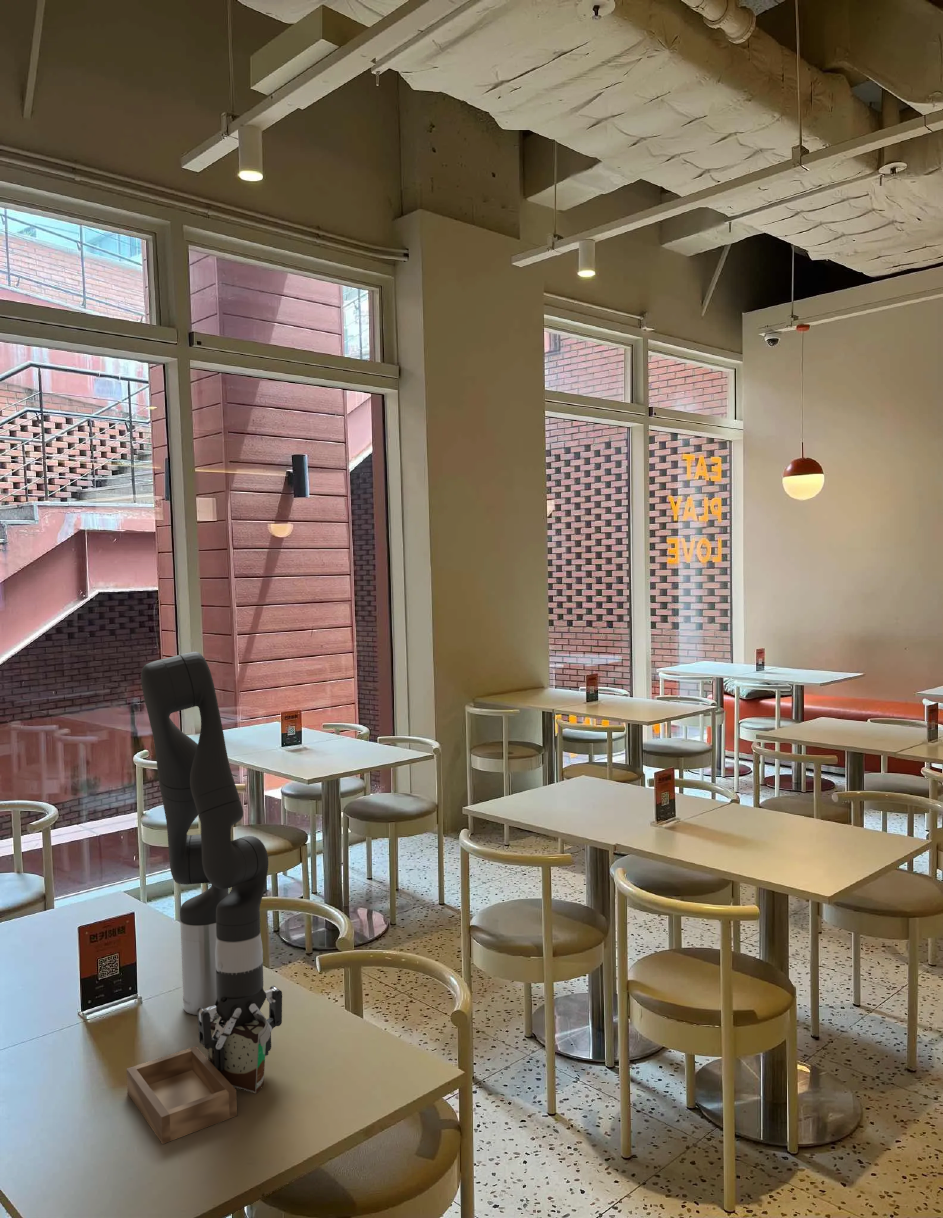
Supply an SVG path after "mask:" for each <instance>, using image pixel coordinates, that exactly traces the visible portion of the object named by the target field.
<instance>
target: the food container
mask: <svg viewBox="0 0 943 1218" xmlns="http://www.w3.org/2000/svg"><path fill="white" fill-rule="evenodd" d="M219 1017H220V1016H219V1015H218V1014H217V1013H216V1014H215V1015H214V1017H213V1021H212V1022H210V1023H211V1037H212V1035H213V1033H214V1031H215V1026H216V1023H217V1021H218V1019H219ZM265 1018H266V1017H265V1016H264V1020H263V1022H262V1023H258V1022H257V1021H256V1020H255V1019H254V1020H252V1022H251V1023H245V1024H242V1025H240V1026H238V1027H235V1028H234V1027H233V1029H232V1031H231V1033H230V1035H229V1036H227V1038H226V1040H225V1042H224V1044H223V1046H222V1047H223V1048H224V1060H225V1070H223V1071H219V1070H218V1071H219V1072H220V1073H221V1074H222V1075H223V1076H224V1077H225V1078H226V1079H227V1080H228V1082H229V1083H230V1084H231V1085H232V1086H233V1087H234V1088H235V1089H238V1088H239V1089H238V1090H241V1089H244V1090H243V1091H245V1090H246V1091H245V1092H249V1091H251V1092H250V1093H252V1092H255V1093H254V1094H258V1093H259V1092H260V1091H261V1090H262V1088H263V1086H264V1080H265V1063H266V1056H265V1049H266V1042H267V1041H268V1039H269V1038H270V1029H269V1025H268V1023H267V1021H266V1020H267V1018H266V1019H265ZM225 1025H226V1023H225ZM206 1050H207V1058H208V1060H209V1061H210V1062H211V1063H212V1048H210V1049H206ZM212 1064H213V1063H212ZM261 1087H262V1088H261ZM260 1089H261V1090H260ZM259 1090H260V1091H259ZM258 1091H259V1092H258Z"/></svg>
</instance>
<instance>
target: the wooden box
mask: <svg viewBox="0 0 943 1218" xmlns="http://www.w3.org/2000/svg"><path fill="white" fill-rule="evenodd" d="M126 1085H127V1086H126V1087H127V1091H126V1092H127V1095H128V1096H129V1097H130V1099H131V1100H132V1102H133V1103H134V1105H135V1106H136V1107H137V1109H138V1111H139V1112H140V1114H141V1115H142V1116H143V1117H144V1119H145V1121H146V1122H147V1124H148V1125H149V1126H150V1128H151V1130H152V1131H153V1132H154V1134H155V1135H156V1137H157V1138H158V1140H159V1141H160V1142H161V1144H162V1145H165V1144H167V1143H169V1142H172V1141H174V1140H176V1139H177V1140H178V1139H179V1138H183V1137H185V1136H187V1135H190V1134H192V1133H196V1132H198V1131H201V1130H203V1129H206V1128H208V1127H211V1126H213V1125H214V1126H215V1125H217V1124H219V1123H221V1122H225V1121H227V1120H230V1119H232V1118H235V1117H238V1105H237V1103H238V1101H237V1088H234V1087H233V1086H232V1085H231V1084H230V1083H229V1082H228V1080H227V1079H226V1078H225V1077H224V1076H223V1075H222V1074H221V1073H220V1072H219V1071H218V1069H217V1068H216V1067H215V1066H214V1065H213V1064H212V1063H211V1062H210V1061H209V1059H208V1056H206V1055H205V1054H204V1053H203V1052H202V1051H201V1049H200V1048H199V1047H198V1046H196V1045H195V1046H192V1047H189V1048H186V1049H183V1050H180V1051H177V1052H173V1053H170V1054H168V1055H164V1056H161V1057H158V1058H155V1059H152V1060H149V1061H146V1062H143V1063H139V1064H136V1065H134V1066H131V1067H128V1068H126Z"/></svg>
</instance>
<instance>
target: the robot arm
mask: <svg viewBox="0 0 943 1218" xmlns="http://www.w3.org/2000/svg"><path fill="white" fill-rule="evenodd" d="M140 681H141V690H142V694H143V699H144V703H145V707H146V711H147V712H146V713H147V716H148V720H149V725H150V728H151V732H152V733H151V734H152V738H153V743H154V751H155V759H156V769H157V771H156V772H157V778H158V784H159V790H160V791H159V792H160V795H161V800H162V806H163V811H164V816H165V820H166V829H167V844H168V859H169V868H170V874H171V877H172V879H173V881H174V882H175V883H176V884H179V885H200V884H208V883H209V884H211V886H210V887H209V888H208V889H206V890H205V891H204V892H201V893H200V894H198V895H195V896H193V897H190V898H189V899H187V900H186V901H185V900H184V902H183V903H182V904H181V906H180V909H179V920H180V921H179V923H180V926H179V928H180V946H181V948H180V949H181V953H180V954H181V973H182V974H181V975H182V977H181V978H182V1000H183V1001H182V1003H183V1010H184V1012H186V1013H188V1014H190V1015H194V1016H196V1017H197V1026H198V1027H197V1028H198V1041H199V1044H200V1045H202V1046H203V1047H204V1048H205V1050H207V1049H210V1048H212V1063H213V1065H214V1066H215V1067H216V1068H217V1069H218V1070H219V1071H223V1070H225V1060H224V1048H223V1047H222V1046H223V1044H224V1042H225V1040H226V1038H227V1036H229V1035H230V1033H231V1031H232V1029H233V1027H234V1028H235V1027H238V1026H240V1025H242V1024H245V1023H251V1022H252V1020H254V1019H255V1020H256V1021H257V1022H258V1023H262V1022H263V1020H264V1017H265V1016H264V1014H263V1013H262V1012H261V1010H262V1009H261V1008H262V1007H263V1005H264V1003H265V1002H266V1000H267V1002H268V1003H269V1004H268V1005H269V1007H268V1008H269V1010H268V1011H269V1012H268V1018H266V1017H265V1019H266V1021H267V1023H268V1025H269V1029H270V1038H269V1039H268V1041H267V1042H266V1049H265V1057H266V1056H268V1055H269V1052H271V1049H272V1031H273V1029H274V1028H276V1027H279V1026H281V1025H282V1022H283V991H282V990H280V988H279V987H277V986H276V985H271V986H270V988H269V989H267V990H265V989H264V959H263V958H264V950H263V942H262V941H263V940H262V937H261V935H262V934H261V911H260V907H261V904H262V901H263V897H264V891H265V885H266V882H267V877H268V872H269V871H268V870H269V854H268V851H267V849H266V845H264V843H263V842H262V840H261V839H259V838H258V837H255V836H254V835H248V836H247V835H245V836H243V837H239V838H236V839H233V840H232V837H231V836H232V827H233V826H234V825H236V824H237V823H239V822H240V821H241V820H242V819H243V817H244V808H243V803H242V802H241V798H240V796H239V792H238V789H237V784H236V783H235V780H234V776H233V773H232V769H231V765H230V760H229V757H228V753H227V747H226V740H225V735H224V734H225V733H224V729H223V722H222V717H221V713H220V708H219V703H218V697H217V693H216V690H215V689H216V688H215V683H214V679H213V676H212V673H211V670H210V666H209V665H208V663H207V660H206V659H205V657H204V656H203V654H202V653H200V652H199V651H189V652H186V653H180V654H178V655H173V656H170V657H166V658H162V659H158V660H153V661H151V662H149V663H146V664H145V665H144V666H142V669H141V672H140ZM194 707H197V708H198V710H199V715H200V730H199V731H200V733H199V738H198V743H197V742H196V741H195V740H193V739H192V738H191V737H189V736H188V735H187V734H185V733H184V732H183V731H182V730H181V729H179V727H177V726H176V724H175V723H174V722H173V720H172V719H171V718H170V717H171V714H173V713H177V712H180V711H184V710H187V709H190V708H194ZM197 818H199V822H200V834H188V832H189V830H190V827H191V826H192V825H193V822H194V821H195V820H196V819H197ZM229 890H230V891H229ZM217 1014H218V1015H219V1016H220V1017H219V1019H218V1021H217V1023H216V1026H215V1031H214V1033H213V1035H212V1037H211V1023H210V1022H212V1021H213V1017H214V1015H217ZM225 1023H226V1025H225Z"/></svg>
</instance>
